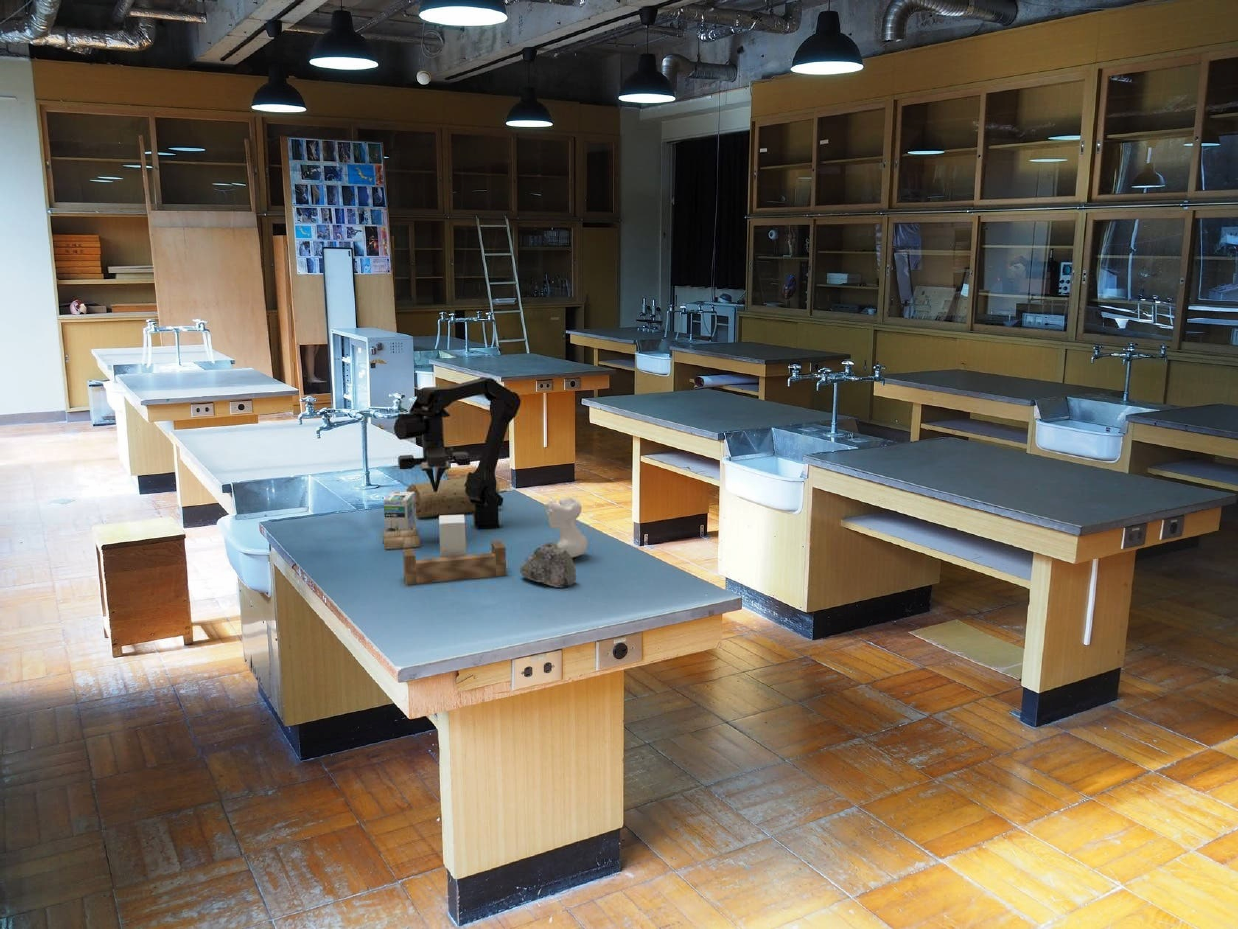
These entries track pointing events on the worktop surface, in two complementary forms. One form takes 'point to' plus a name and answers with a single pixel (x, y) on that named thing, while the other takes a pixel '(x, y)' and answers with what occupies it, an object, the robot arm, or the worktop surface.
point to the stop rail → (454, 566)
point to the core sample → (442, 498)
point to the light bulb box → (400, 511)
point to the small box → (452, 535)
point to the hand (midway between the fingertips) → (435, 491)
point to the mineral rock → (550, 566)
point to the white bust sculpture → (567, 524)
